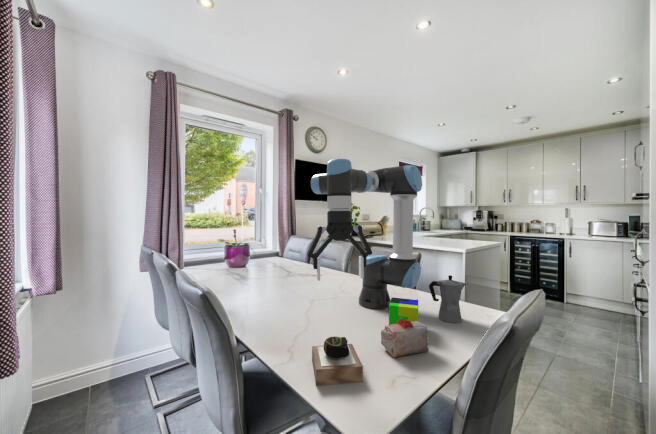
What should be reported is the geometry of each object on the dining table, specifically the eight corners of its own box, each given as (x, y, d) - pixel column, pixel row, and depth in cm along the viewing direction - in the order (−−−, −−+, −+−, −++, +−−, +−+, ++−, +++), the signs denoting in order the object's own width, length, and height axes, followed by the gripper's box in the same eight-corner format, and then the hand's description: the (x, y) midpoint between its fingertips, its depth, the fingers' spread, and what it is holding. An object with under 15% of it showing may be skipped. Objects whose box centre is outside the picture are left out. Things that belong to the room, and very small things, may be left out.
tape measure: (349, 361, 71) (349, 347, 71) (323, 361, 71) (323, 346, 71) (347, 348, 77) (347, 335, 77) (323, 348, 77) (324, 335, 77)
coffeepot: (459, 314, 116) (460, 273, 116) (471, 323, 107) (472, 278, 106) (424, 314, 115) (424, 273, 115) (433, 323, 106) (434, 278, 106)
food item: (392, 361, 79) (393, 327, 79) (378, 348, 86) (379, 317, 86) (430, 353, 83) (431, 321, 83) (414, 342, 91) (414, 312, 91)
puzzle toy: (418, 325, 104) (418, 300, 104) (417, 336, 95) (417, 308, 94) (391, 322, 107) (391, 297, 107) (388, 332, 98) (388, 305, 98)
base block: (351, 357, 81) (352, 343, 81) (362, 381, 69) (362, 365, 69) (312, 359, 79) (312, 345, 79) (316, 385, 67) (316, 368, 67)
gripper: (374, 209, 89) (374, 273, 89) (298, 210, 85) (299, 277, 85) (382, 209, 81) (382, 279, 82) (299, 210, 77) (300, 283, 78)
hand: (340, 278), depth 84 cm, fingers open, 13 cm apart
